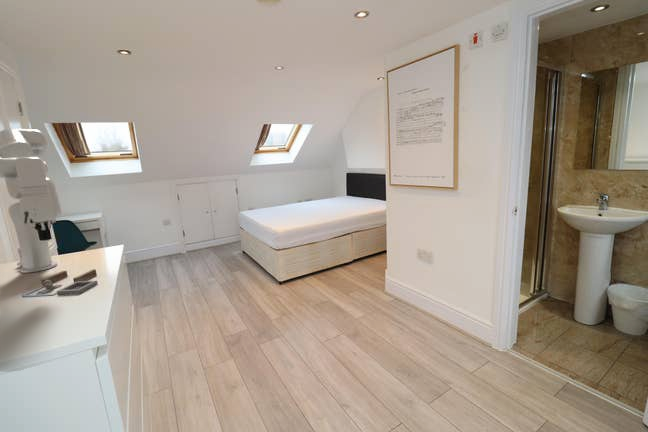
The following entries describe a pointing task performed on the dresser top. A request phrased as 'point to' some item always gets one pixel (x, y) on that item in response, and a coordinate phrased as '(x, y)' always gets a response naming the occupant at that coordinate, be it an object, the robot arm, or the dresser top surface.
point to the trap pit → (77, 287)
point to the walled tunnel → (64, 274)
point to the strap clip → (48, 287)
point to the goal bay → (37, 295)
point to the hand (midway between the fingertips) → (45, 239)
